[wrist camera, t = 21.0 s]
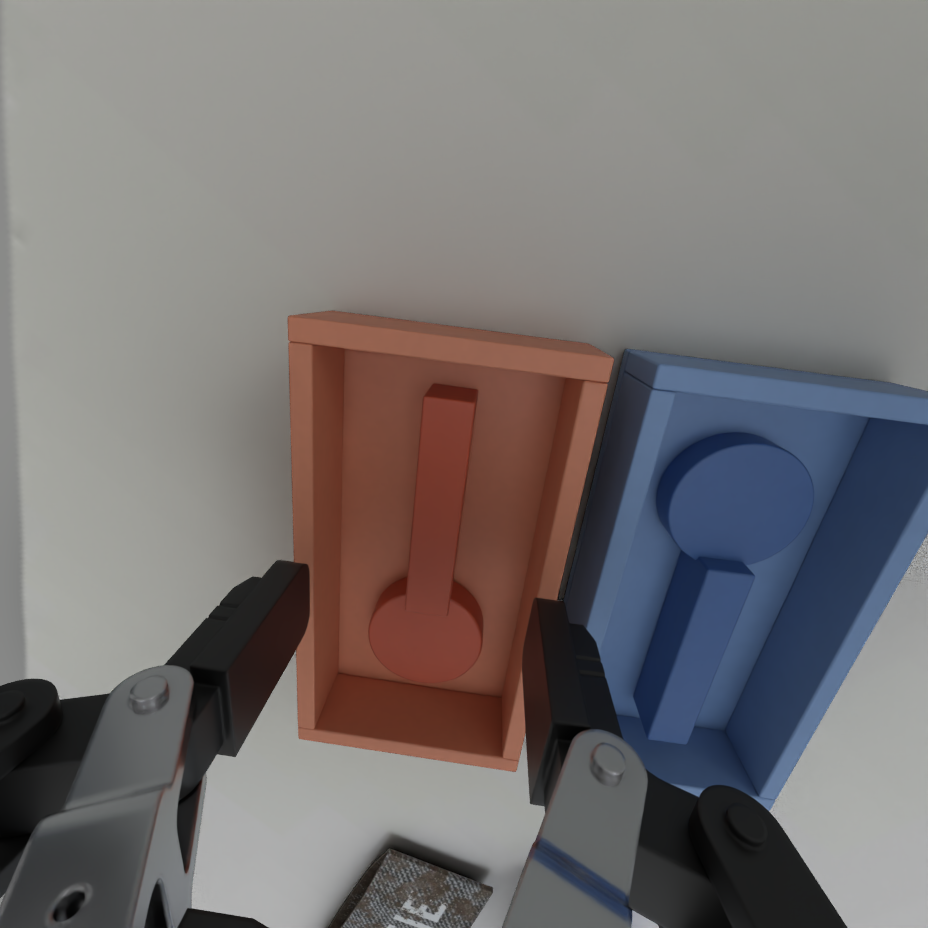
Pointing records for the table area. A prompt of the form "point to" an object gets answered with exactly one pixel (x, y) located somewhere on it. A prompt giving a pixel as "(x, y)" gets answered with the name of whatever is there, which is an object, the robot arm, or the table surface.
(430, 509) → the terracotta spoon
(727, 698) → the blue tote
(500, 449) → the terracotta tote
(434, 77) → the table surface
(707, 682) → the blue spoon
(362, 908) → the keychain
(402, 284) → the table surface
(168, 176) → the table surface
